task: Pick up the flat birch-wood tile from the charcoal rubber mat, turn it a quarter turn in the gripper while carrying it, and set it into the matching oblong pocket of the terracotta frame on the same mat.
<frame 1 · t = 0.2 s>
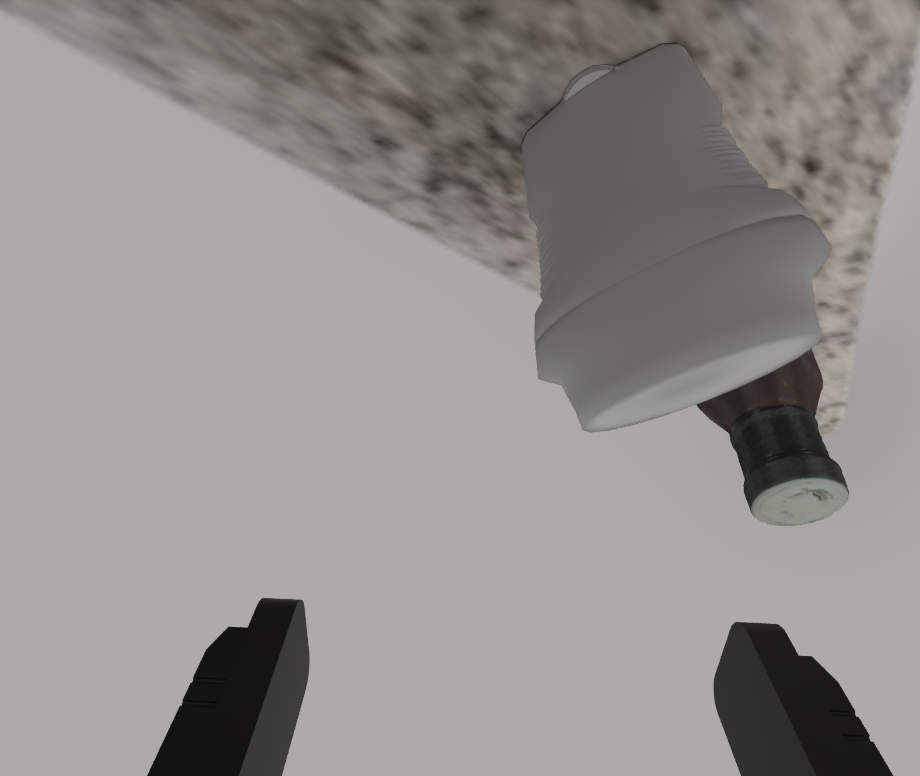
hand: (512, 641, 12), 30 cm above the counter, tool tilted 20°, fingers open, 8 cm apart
dispenser: (597, 102, 34), on the counter
sauce bottle: (698, 241, 41), on the counter
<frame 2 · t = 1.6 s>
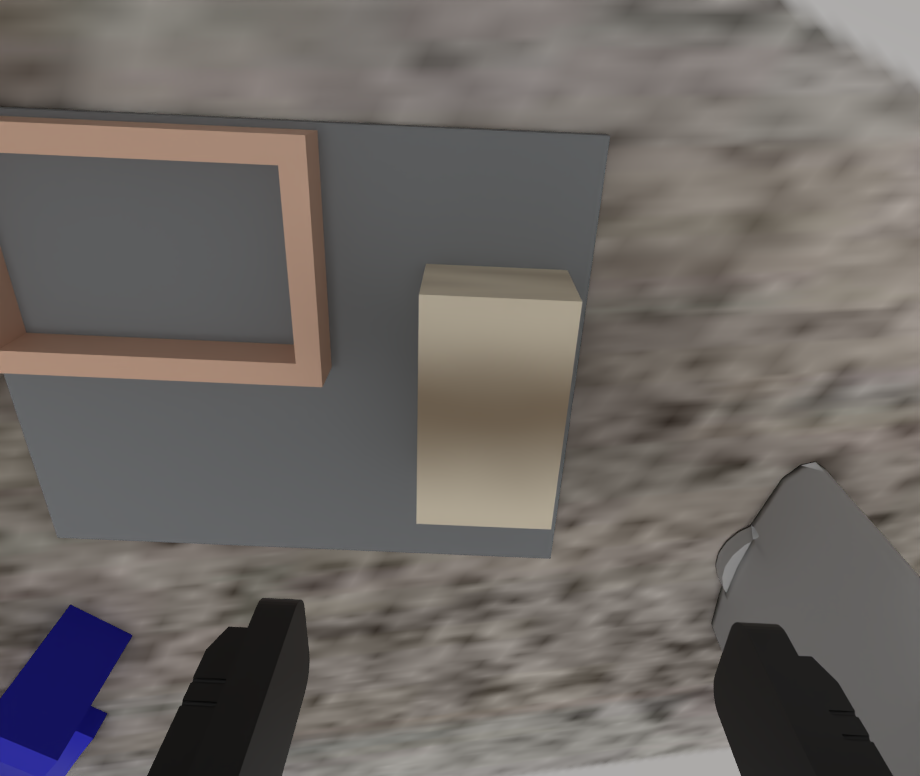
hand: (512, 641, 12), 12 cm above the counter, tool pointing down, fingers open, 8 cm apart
frame: (157, 247, 20), resting on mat
dispenser: (763, 555, 26), on the counter
tile: (488, 379, 22), resting on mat
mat: (291, 364, 22), on the counter
cable clip: (69, 686, 31), on the counter
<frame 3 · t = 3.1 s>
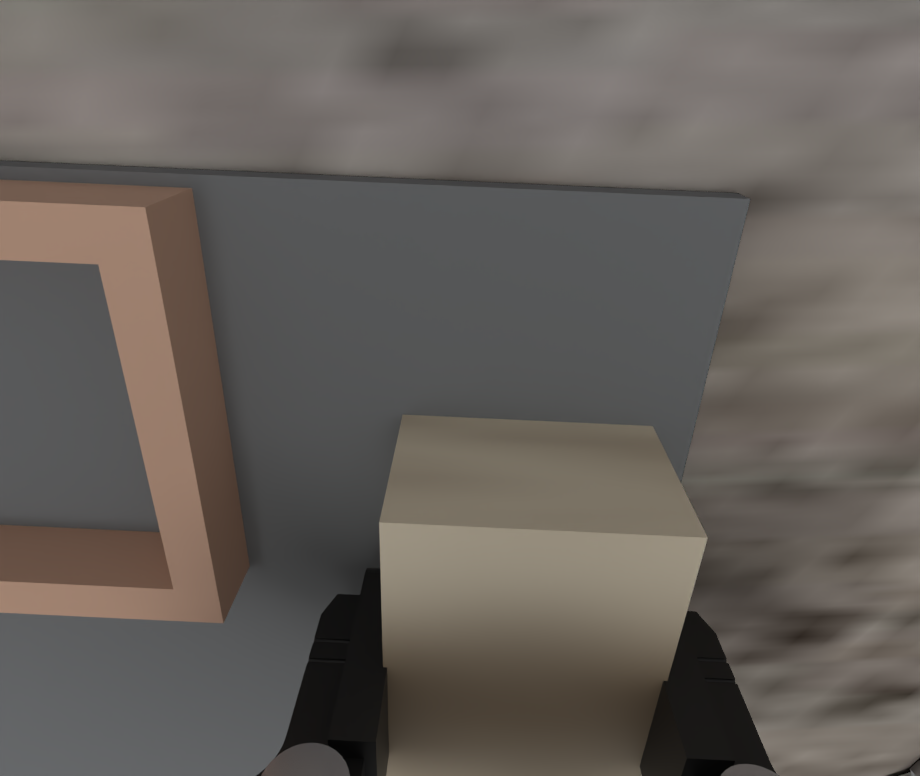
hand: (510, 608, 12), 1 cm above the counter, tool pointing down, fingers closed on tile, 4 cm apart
tile: (510, 585, 13), point 1 cm above the counter, touching gripper, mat
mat: (187, 553, 13), on the counter
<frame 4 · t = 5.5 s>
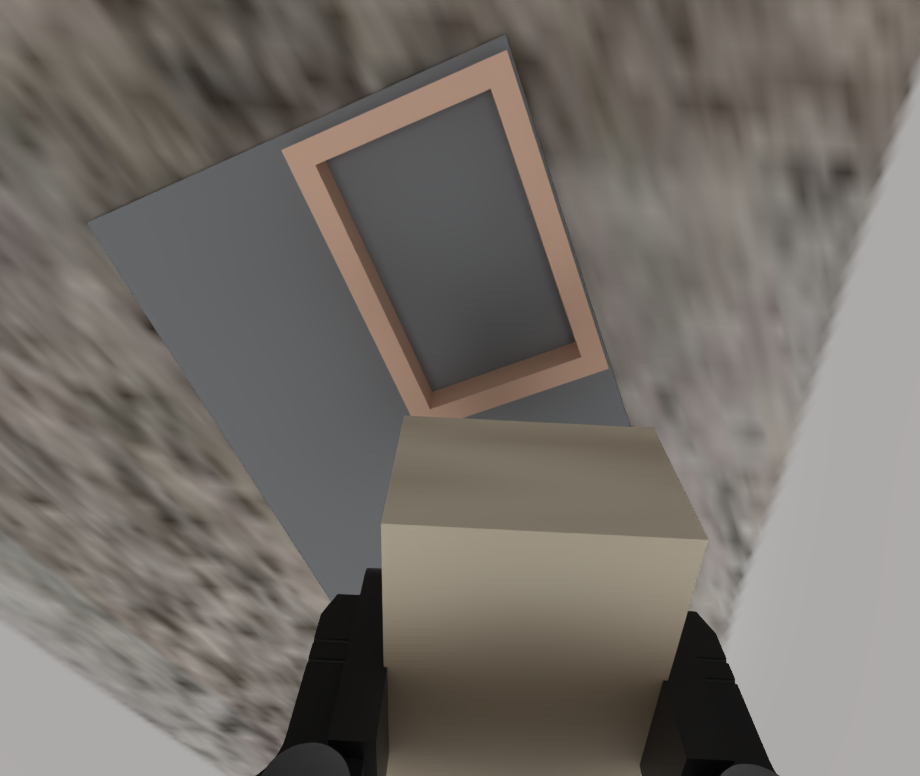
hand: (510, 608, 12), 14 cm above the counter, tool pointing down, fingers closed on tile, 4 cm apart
frame: (458, 253, 23), resting on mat
tile: (510, 586, 13), point 13 cm above the counter, touching gripper
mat: (403, 378, 25), on the counter
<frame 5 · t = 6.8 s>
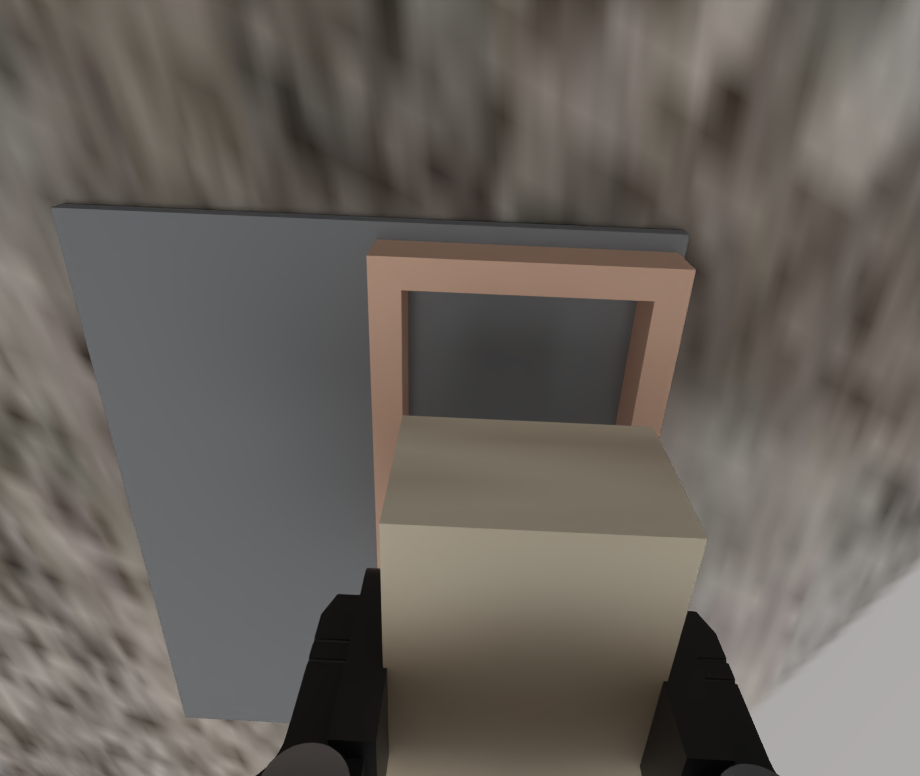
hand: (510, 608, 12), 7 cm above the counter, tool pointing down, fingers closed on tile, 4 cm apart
frame: (509, 424, 19), resting on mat
tile: (510, 586, 13), point 6 cm above the counter, touching gripper
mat: (380, 522, 21), on the counter
when the fingers open (3 cm above the counter, at t = 7.9 s): tile drops 2 cm, resting on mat.
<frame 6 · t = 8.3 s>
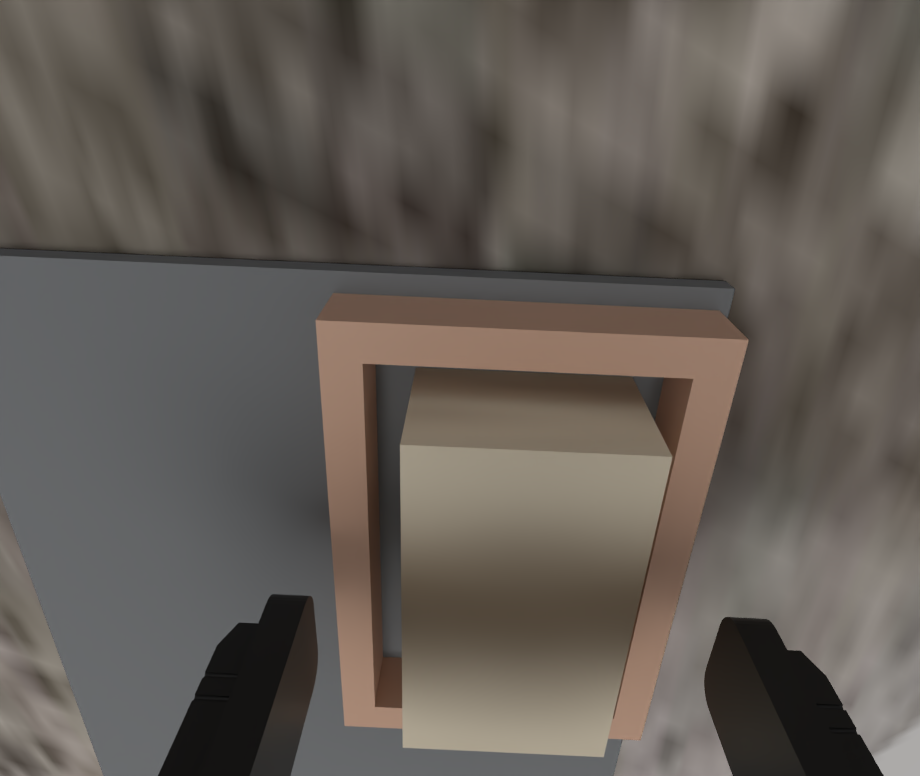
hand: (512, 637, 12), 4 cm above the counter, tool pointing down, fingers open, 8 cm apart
frame: (504, 511, 15), resting on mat
tile: (509, 524, 15), resting on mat
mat: (348, 620, 17), on the counter
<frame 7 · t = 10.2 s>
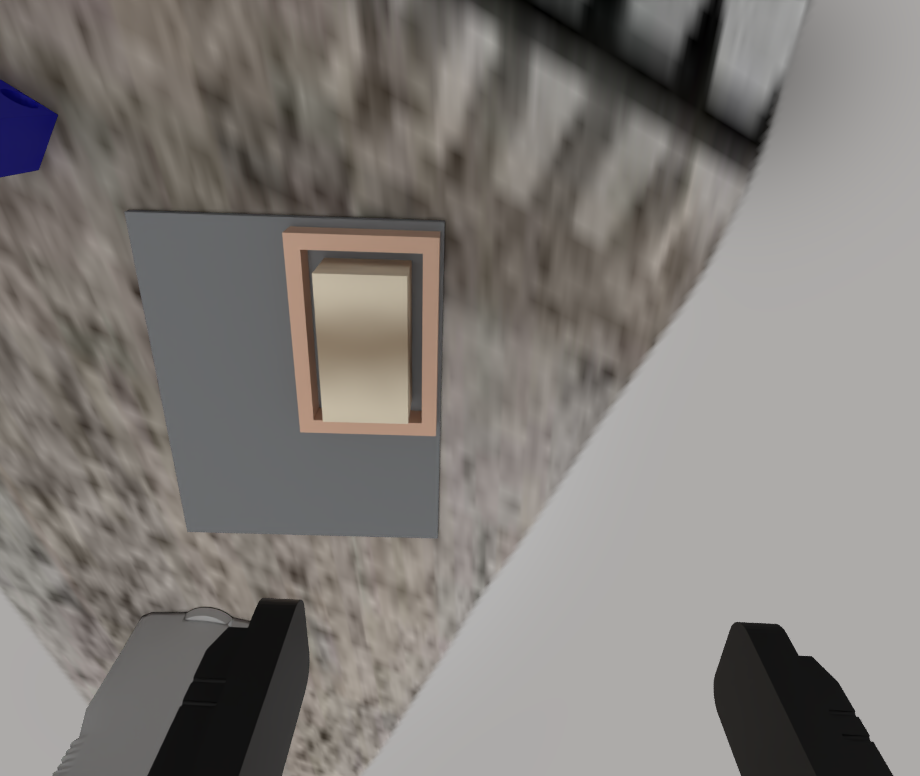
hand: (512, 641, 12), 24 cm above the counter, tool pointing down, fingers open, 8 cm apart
frame: (369, 328, 34), resting on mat
dispenser: (211, 626, 44), on the counter
tile: (370, 331, 34), resting on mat
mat: (302, 391, 36), on the counter
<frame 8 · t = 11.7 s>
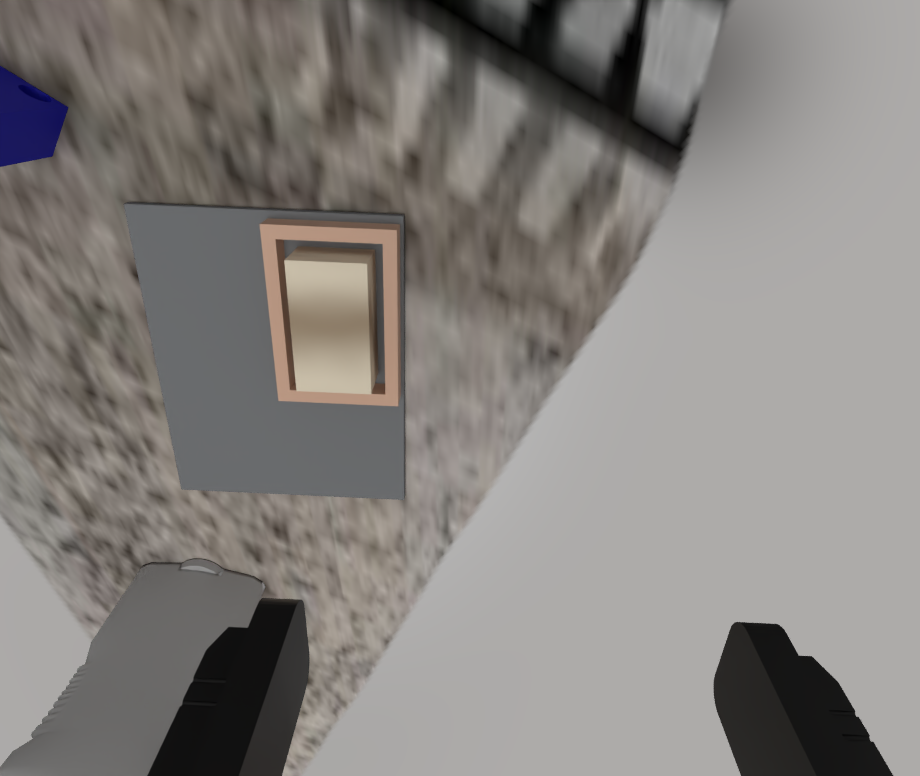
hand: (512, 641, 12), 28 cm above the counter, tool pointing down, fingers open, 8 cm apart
frame: (340, 309, 39), resting on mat
dispenser: (204, 576, 49), on the counter
tile: (340, 312, 38), resting on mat
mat: (281, 365, 40), on the counter
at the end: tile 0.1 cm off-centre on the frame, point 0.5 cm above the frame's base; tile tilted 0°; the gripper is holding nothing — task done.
